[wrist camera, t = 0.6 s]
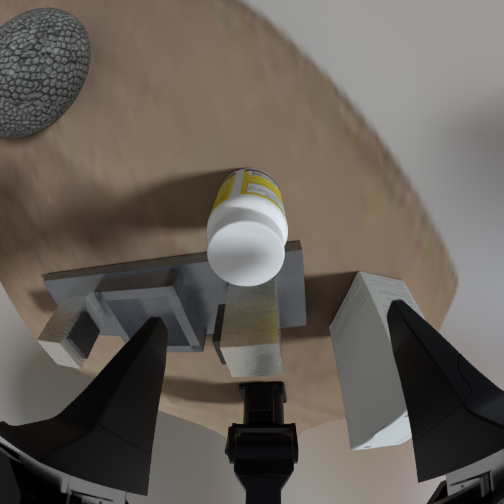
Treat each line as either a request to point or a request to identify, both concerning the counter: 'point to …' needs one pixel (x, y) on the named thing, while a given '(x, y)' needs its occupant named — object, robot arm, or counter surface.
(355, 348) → the skincare box
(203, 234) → the counter surface
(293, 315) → the rail
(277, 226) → the supplement bottle
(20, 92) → the decorative ball
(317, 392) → the counter surface
